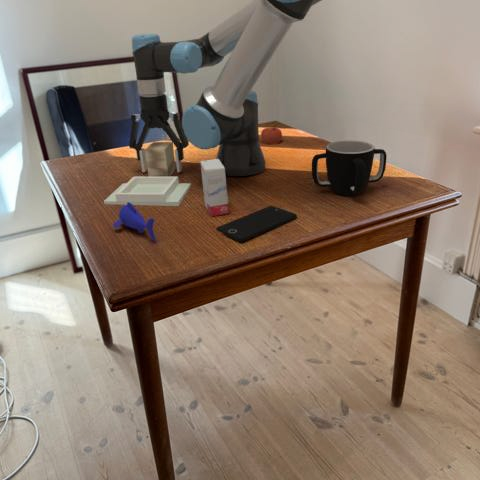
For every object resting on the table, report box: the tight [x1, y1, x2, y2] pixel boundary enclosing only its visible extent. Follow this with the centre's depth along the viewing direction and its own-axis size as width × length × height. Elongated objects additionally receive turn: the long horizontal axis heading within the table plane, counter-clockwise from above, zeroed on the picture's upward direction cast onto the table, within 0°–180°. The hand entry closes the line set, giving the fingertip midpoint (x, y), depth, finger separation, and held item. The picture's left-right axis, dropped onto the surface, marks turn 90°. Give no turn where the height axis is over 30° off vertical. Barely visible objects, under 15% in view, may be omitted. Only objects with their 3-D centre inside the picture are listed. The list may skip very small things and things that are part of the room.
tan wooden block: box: [145, 141, 177, 177], centre depth 142 cm, size 6×8×10 cm
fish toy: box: [112, 202, 157, 243], centre depth 108 cm, size 15×8×7 cm, turn 41°
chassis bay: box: [103, 176, 192, 207], centre depth 129 cm, size 20×14×4 cm
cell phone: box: [216, 205, 298, 243], centre depth 111 cm, size 9×18×1 cm, turn 132°
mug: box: [311, 140, 387, 196], centre depth 124 cm, size 16×16×12 cm
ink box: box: [200, 158, 230, 217], centre depth 117 cm, size 9×5×12 cm, turn 13°
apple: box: [260, 124, 283, 145], centre depth 167 cm, size 7×7×8 cm
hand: (162, 170), depth 143 cm, fingers open, 10 cm apart
